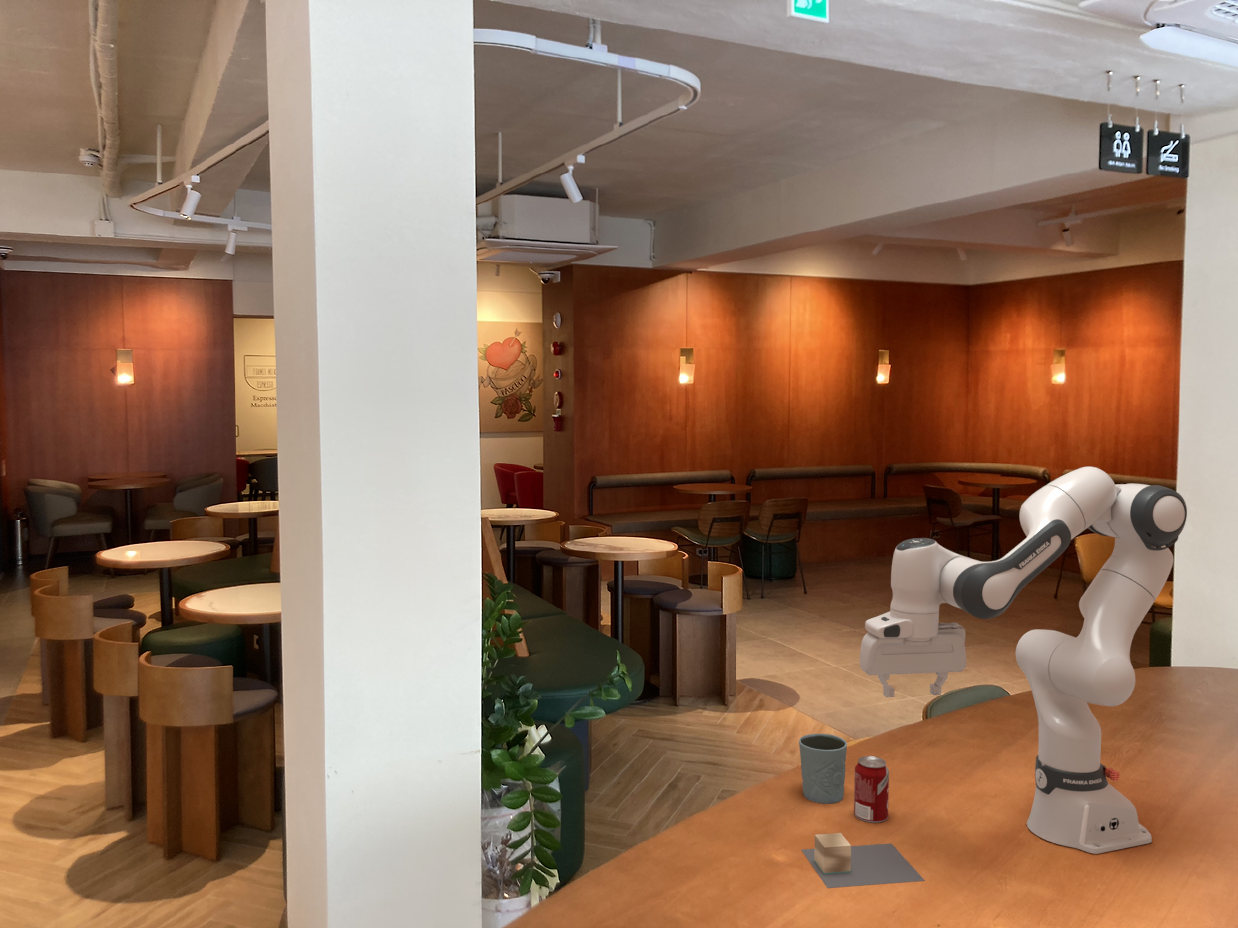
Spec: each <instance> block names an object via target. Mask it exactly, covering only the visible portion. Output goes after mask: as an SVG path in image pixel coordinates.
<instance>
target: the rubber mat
mask: <svg viewBox="0 0 1238 928" xmlns="http://www.w3.org/2000/svg"><path fill="white" fill-rule="evenodd" d="M800 850H801V852H802V854H803V855H804V856H805V858H806V859H807V861H808V862H809V864H810V865H811V867H812V868H813V870H814V871H815V872H816V874H817V875H818V876H819V878H820V879H821V881H822V882H823V884H824V885H825V887H826V889H833V888H835V889H837V888H848V887H849V888H850V887H862V886H875V885H877V886H878V885H886V884H887V885H889V884H901V883H902V884H903V883H914V882H915V883H916V882H925V881H926V880H925V879H924V877H922V876H921V874H920V873H919V872H918V871H917V870H916V869H915V868H914V867H913V866H912V864H910V862H909V861H908V860H907V859H906V858H905V857H904V856H903V855H902V853H901V852H900V851H899V850H898V849H897V848H896V847H895V846H894V845H893V844H892V843H891V842H890V843H878V844H874V843H873V844H865V845H864V844H861V845H851V873H838V874H823V872H822V871H821V870H820V868H819V867H818V865H817V864H816V862H815V861H814V852H815V848H806V849H805V848H804V849H800Z"/></svg>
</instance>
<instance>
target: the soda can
mask: <svg viewBox="0 0 1238 928" xmlns="http://www.w3.org/2000/svg"><path fill="white" fill-rule="evenodd" d="M889 788H890V770H889V768H888V767H887V761H886V760H885V759H883V758H881V757H879V756H878V757H877V756H873V755H863V756H860V757H859V758H858V759H857V764H856V765H855V767H854V788H853V789H854V791H853V799H854V800H853V815H854V817H855V818H857V819H858V820H860V821H863V822H866V823H873V824H878V823H883V822H885V821H887V820H888V819H889V797H890V796H889V793H890V791H889V790H890V789H889Z"/></svg>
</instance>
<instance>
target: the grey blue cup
mask: <svg viewBox="0 0 1238 928" xmlns="http://www.w3.org/2000/svg"><path fill="white" fill-rule="evenodd" d="M798 745H799V755H800V770H801V780H802V783H801V784H802V785H801V786H802V794H803V796H804V798H805V799H806V800H809V801H810V802H813V803H817V804H821V805H822V804H824V805H828V804H829V805H830V804H837V803H840V802H841V801H843V799H844V793H845V778H846V766H847V765H846V760H847V750H848V743H847V740H845V739H844V738H843V737H839V736H837V735H834V734H830V733H829V734H828V733H809V734H805V735H803V736H801V737H800V738H799V740H798Z"/></svg>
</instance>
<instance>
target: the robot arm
mask: <svg viewBox="0 0 1238 928" xmlns="http://www.w3.org/2000/svg"><path fill="white" fill-rule="evenodd" d="M1187 516H1188V507H1187V504H1186V501H1185V498H1184V497H1183V496H1182V495H1181V494H1180V493H1179V492H1177V491H1175V490H1174V489H1172V488H1169V487H1166V486H1163V485H1159V484H1158V485H1157V484H1152V485H1149V484H1144V483H1126V484H1124V483H1120V484H1119V483H1118V484H1115V482H1114V480H1113V478H1112V477H1111V476H1110V475H1109V474H1108V473H1106V471H1104V470H1102V469H1100V468H1099V467H1095V466H1083V467H1079V468H1077V469H1074V470H1072V471H1070V472H1068V473H1066V474H1063V475H1061V476H1059V477H1057V478H1055V479H1054V480H1052V481H1050V482H1049V483H1047V484H1046V485H1044V486H1042V487H1041V488H1039V489H1037V490H1036V491H1035V492H1034V493H1032V494H1031V495H1030V496H1029V497H1028V498H1027V499H1026V500H1025V501H1024V502H1023V503H1022V504H1021V506H1020V509H1019V522H1020V523H1019V524H1020V527H1021V529H1022V531H1023V533H1024V534H1025V536H1026V538H1024V539H1023V540H1022V541H1021V542H1020V543H1018V544H1017V545H1016V546H1015V547H1014V548H1012V549H1011V550H1010V551H1008V553H1006V554H1005V555H1004V556H1002V557H1001V558H1000V559H996V560H992V561H980V560H977V559H973V558H971V557H968V556H966V555H965V556H964V555H962V554H959V553H956V552H954V551H952V550H950V549H947V548H946V547H943V546H942V545H940V544H939V543H938V542H937V541H936V540H935V539H932V538H927V537H920V538H919V537H917V538H909V539H906V540H903V541H902V542H900V543H898V544H897V545H896V547H895V549H894V551H893V557H892V560H891V561H892V562H891V563H892V564H891V574H890V588H891V589H892V590H891V591H892V598H891V602H890V607H889V608H890V611H887V612H885V613H882V614H880V615H878V616H875V617H872V618H869V619H867V620H865V622H864V628H865V630H866V631H867V633H865V634H864V636H863V638H862V639H861V644H860V653H859V668H860V669H861V670H862V671H863V672H864V673H865V674H867V675H868V676H877V678H878V680H879V681H880V684H881V686H882V687H883V689H882V690H883V692H882V693H883V696H884V697H886V698H894V697H895V690H896V689H895V687H893V686H892V685H889V682H888V681H889V680H890V677H891V676H890V675H892V676H893V675H910V674H911V675H912V674H913V675H916V674H917V675H918V674H934V673H935V675H936V676H937V677H936V679H935V681H934V683H930V684H929V688H930V689H929V693H930V695H932V696H941V695H942V687H943V685H944V684H945V683H946V680H947V679H948V674H949V673H961V672H963V671H964V670H966V669H965V668H966V667H967V652H966V646H965V642H966V629H965V628H964V627H963V626H962V625H961V624H959V623H958V622H949V623H947V622H939V620H940V618H939V617H940V605H942V604H948V605H950V606H952V607H955V608H958V609H959V610H963V611H964V612H965V613H967V614H969V615H970V616H973V617H975V618H977V619H981V620H989V619H994V618H996V617H999V616H1000V615H1002V614H1003V613H1004V612H1005V611H1007V609H1008V608H1009V607H1010V606H1011V604H1012V603H1013V601H1014V600H1015V598H1016V597H1017V596H1018V594H1019V593H1020V592H1021V591H1022V589H1024V588H1025V587H1026V586H1027V585H1028V584H1029V583H1031V582H1032V581H1033V580H1034V579H1035V578H1036V577H1037V576H1039V575H1040V574H1041V573H1042V572H1043V571H1045V569H1047V568H1048V567H1049V566H1051V565H1052V563H1054V562H1055V561H1057V559H1058V558H1059V557H1060V556H1061V555H1062V554H1063V553H1065V551H1066V550H1067V549H1068V547H1069V546H1070V543H1071V541H1072V540H1073V539H1075V538H1076V536H1078V535H1080V534H1082V532H1084V531H1085V530H1087V529H1088V530H1090V531H1091V532H1093V533H1095V534H1098V535H1100V536H1103V537H1112V538H1114V546H1113V551H1112V553H1111V555H1110V556H1109V558H1108V559H1107V560H1106V561H1105V563H1104V564H1103V565H1102V567H1101V568H1100V569H1099V571H1098V573H1097V574H1096V575H1095V577H1094V579H1092V581H1091V583H1090V584H1089V586H1088V587H1087V588H1086V590H1085V591H1084V593H1083V595H1082V596H1081V597H1080V600H1079V601H1078V607H1079V611H1080V613H1081V615H1082V617H1083V618H1084V620H1083V625H1082V628H1081V631H1080V633H1079V634H1078V636H1076V637H1075V636H1073V635H1070V634H1067V633H1064V632H1061V631H1057V630H1053V629H1031V630H1029V631H1027V632H1026V633H1024V634H1023V635H1022V636H1021V637H1020V639H1019V640H1018V641H1017V644H1016V647H1015V660H1016V663H1017V665H1018V667H1019V668H1020V669H1021V671H1022V672H1023V673H1024V675H1025V678H1026V680H1027V682H1028V684H1029V687H1030V690H1031V693H1032V696H1033V701H1034V705H1035V708H1036V714H1037V721H1038V748H1037V749H1038V754H1037V755H1036V757H1035V767H1034V780H1035V790H1034V798H1033V802H1032V806H1031V811H1030V813H1029V816H1028V819H1027V821H1026V825H1027V828H1028V829H1029V830H1030V832H1032V833H1033V834H1034V835H1036V836H1037V837H1039V838H1041V839H1043V840H1045V841H1048V842H1051V843H1054V844H1057V845H1059V846H1060V845H1061V846H1064V847H1070V848H1074V849H1079V850H1081V851H1084V852H1085V853H1086V852H1087V853H1090V854H1094V855H1098V854H1102V853H1103V854H1104V853H1107V852H1112V851H1117V850H1122V849H1123V850H1124V849H1126V848H1131V847H1137V846H1142V845H1147V844H1150V843H1152V842H1153V840H1152V834H1151V833H1150V832H1149V830H1148V829H1147V828H1146V827H1145V826H1143V825H1142V824H1141V823H1140V822H1139V816H1138V811H1137V809H1136V806H1135V805H1134V803H1132V801H1130V800H1129V798H1127V797H1126V796H1125V795H1123V793H1121V792H1120V791H1119V790H1117V789H1116V788H1115V787H1113V786H1112V785H1111V784H1110V783H1109V782H1108V779H1110V780H1111V781H1113V782H1117V781H1118V780H1119V779H1120V777H1121V774H1120V772H1119V771H1117V770H1115V769H1114V768H1112V767H1108V768H1107V767H1106V766H1105V765H1104V764H1103V763H1101V751H1102V750H1101V748H1102V728H1101V725H1100V723H1099V721H1098V719H1097V718H1096V717H1095V715H1094V714H1093V712H1092V711H1091V709H1090V706H1089V704H1092V705H1098V706H1105V707H1116V706H1119V705H1122V704H1123V703H1125V702H1126V701H1127V700H1128V699H1129V698H1130V697H1131V695H1132V694H1133V691H1135V686H1136V674H1135V673H1136V672H1135V669H1134V667H1133V665H1132V663H1131V657H1130V655H1131V647H1132V642H1133V639H1134V636H1135V634H1136V632H1137V630H1138V628H1139V627H1140V625H1141V623H1142V621H1143V620H1144V618H1145V616H1146V615H1147V613H1148V612H1149V610H1150V609H1151V608H1152V606H1153V604H1155V603H1154V602H1155V601H1156V599H1157V598H1158V597H1159V595H1160V593H1161V592H1162V590H1163V588H1164V586H1165V584H1166V582H1167V580H1168V578H1169V575H1170V574H1171V570H1172V568H1173V565H1174V555H1173V553H1172V551H1171V550H1170V547H1172V546H1173V545H1174V544H1175V543H1177V542H1178V540H1179V536H1180V535H1181V533H1182V531H1183V530H1184V528H1185V525H1186V521H1187V518H1188V517H1187ZM1107 778H1108V779H1107Z"/></svg>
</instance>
